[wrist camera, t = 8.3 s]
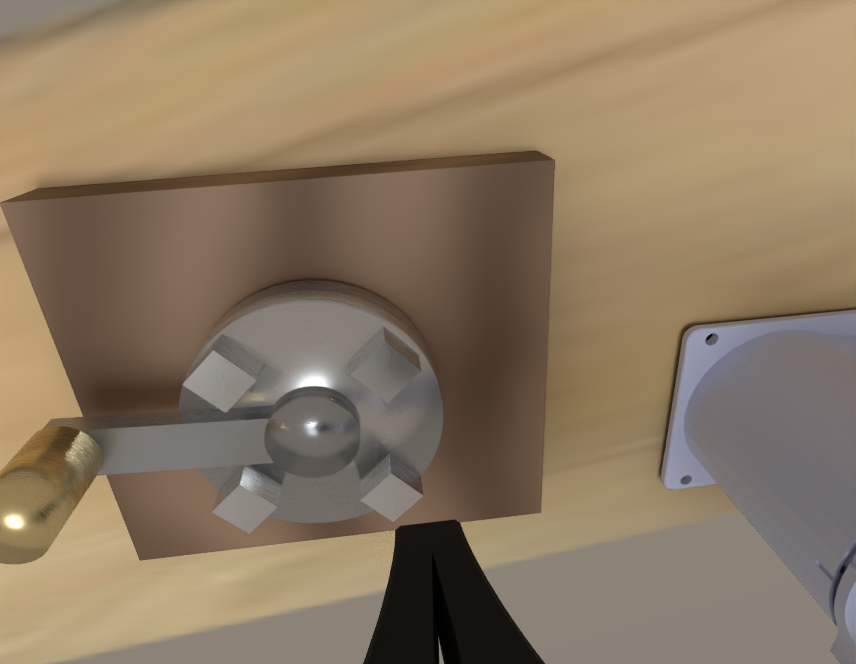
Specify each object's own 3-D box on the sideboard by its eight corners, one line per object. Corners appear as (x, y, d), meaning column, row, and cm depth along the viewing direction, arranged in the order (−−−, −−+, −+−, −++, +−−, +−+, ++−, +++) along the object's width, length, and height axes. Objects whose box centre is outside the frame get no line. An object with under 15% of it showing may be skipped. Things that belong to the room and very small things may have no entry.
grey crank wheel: (435, 274, 18) (464, 360, 13) (436, 475, 21) (459, 605, 16) (35, 292, 17) (-111, 393, 12) (104, 499, 20) (15, 648, 15)
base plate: (536, 150, 19) (556, 160, 17) (528, 480, 25) (541, 514, 23) (36, 188, 18) (-3, 203, 16) (156, 523, 24) (138, 562, 22)
